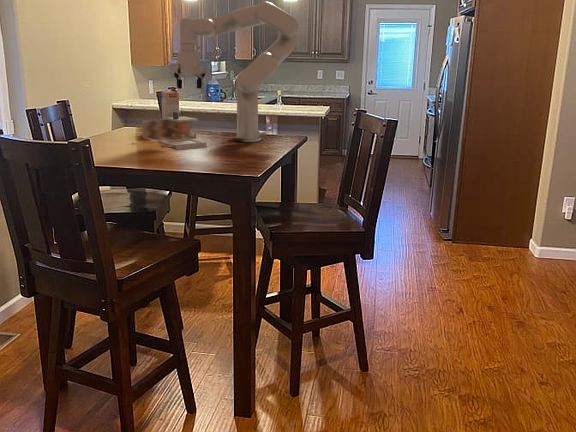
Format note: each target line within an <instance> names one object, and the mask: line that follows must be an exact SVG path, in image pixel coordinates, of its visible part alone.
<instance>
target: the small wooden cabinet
mask: <svg viewBox="0 0 576 432" xmlns="http://www.w3.org/2000/svg"><path fill="white" fill-rule="evenodd" d="M187 122H189V121H187ZM141 129H142V139H145V140H149V141H151V142H155V143H158V142H161V141H164V140H176V139H188V138H190V139H195V140H196V139H200V137H198V136H197V133H195V132H191V131H190V134H178V123H177V122H176V121H171V120H162V119H157V120H156V119H155V120H141ZM143 143H145V141H143ZM149 144H151V145H152V143H150V142H149Z"/></svg>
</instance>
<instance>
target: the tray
mask: <svg viewBox="0 0 576 432" xmlns="http://www.w3.org/2000/svg"><path fill="white" fill-rule="evenodd" d="M185 141H190V142H191V141H192V143H179V144H178V143H175V142H185ZM173 142H174V143H173ZM160 143H162V144H166V145H169V146H166V148H167V149H172V150H176V151H181V150H182V149H183V150H191V149H200V148H201V149H202V148H207V141H203V140H199V139H196V138H195V139H190V138H188V139H176V140H164V141H160ZM183 150H182V151H183Z"/></svg>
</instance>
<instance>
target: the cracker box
mask: <svg viewBox="0 0 576 432" xmlns="http://www.w3.org/2000/svg"><path fill="white" fill-rule="evenodd" d="M179 95H180V94H179V91H173V90H162V91H161V95H160V96H161V97H160V98H161V114H162V115H161V117H162V118H161V120H166V119H165V117H173V112H178V114H179V115H180V99H179V98H180V96H179Z"/></svg>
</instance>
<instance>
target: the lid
mask: <svg viewBox="0 0 576 432" xmlns="http://www.w3.org/2000/svg"><path fill="white" fill-rule="evenodd" d="M165 119H166V120H171V121H176V122H187V121H188V122H199V118H195V117H189V116H183V115H182V116H180V113H179V114H178V112H173V117H165Z"/></svg>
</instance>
